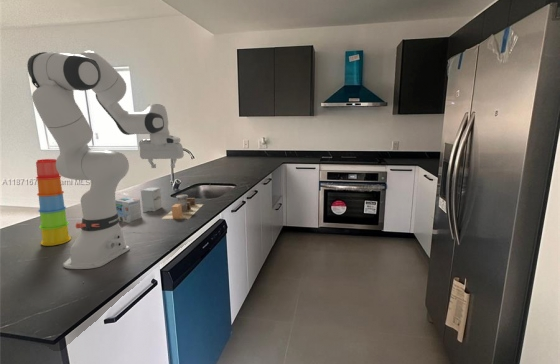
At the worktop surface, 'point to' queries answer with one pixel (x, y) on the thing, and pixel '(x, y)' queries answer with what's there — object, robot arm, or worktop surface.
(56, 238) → the stacking cups
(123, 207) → the light bulb box
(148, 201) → the supplement box
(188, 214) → the winding board
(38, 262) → the worktop surface
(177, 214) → the tab
